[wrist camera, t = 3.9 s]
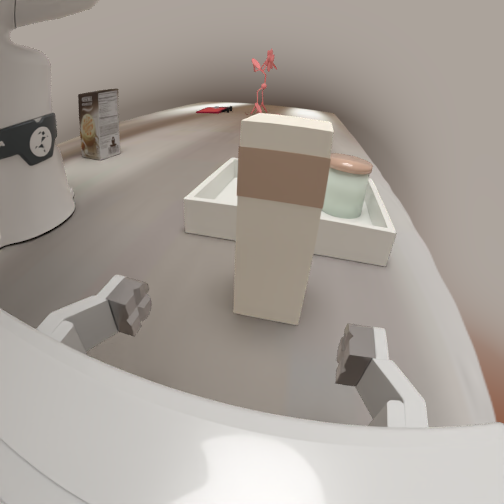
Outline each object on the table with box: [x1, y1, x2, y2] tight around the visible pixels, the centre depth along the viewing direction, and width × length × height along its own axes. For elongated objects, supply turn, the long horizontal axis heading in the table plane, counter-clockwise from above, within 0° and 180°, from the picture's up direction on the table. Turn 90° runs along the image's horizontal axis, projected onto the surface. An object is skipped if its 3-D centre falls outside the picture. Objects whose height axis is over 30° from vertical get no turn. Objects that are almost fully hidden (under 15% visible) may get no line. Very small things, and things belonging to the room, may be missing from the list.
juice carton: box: [233, 113, 334, 325], centre depth 21 cm, size 5×5×14 cm
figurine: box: [247, 49, 280, 115], centre depth 128 cm, size 15×26×35 cm, turn 161°
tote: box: [184, 158, 397, 267], centre depth 37 cm, size 22×18×4 cm
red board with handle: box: [196, 106, 232, 113], centre depth 146 cm, size 30×3×15 cm
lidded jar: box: [322, 153, 373, 219], centre depth 37 cm, size 6×6×7 cm
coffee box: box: [78, 89, 120, 160], centre depth 58 cm, size 9×6×16 cm
